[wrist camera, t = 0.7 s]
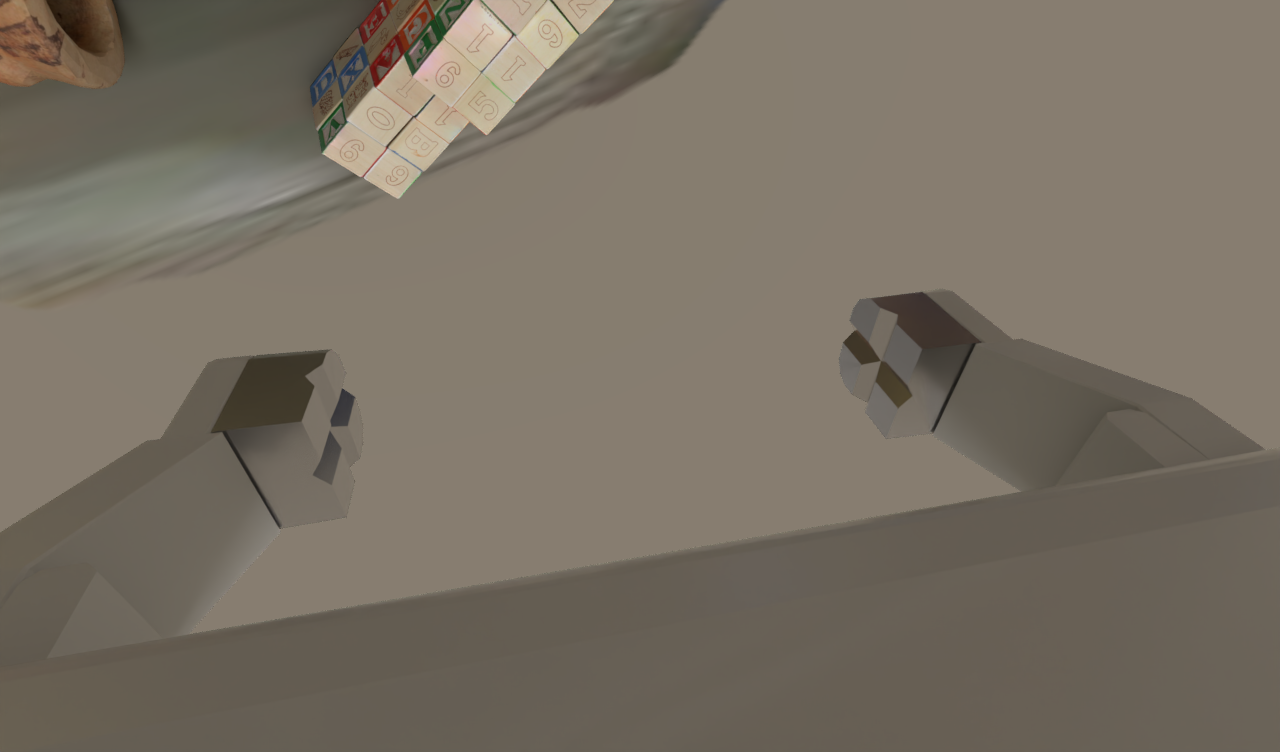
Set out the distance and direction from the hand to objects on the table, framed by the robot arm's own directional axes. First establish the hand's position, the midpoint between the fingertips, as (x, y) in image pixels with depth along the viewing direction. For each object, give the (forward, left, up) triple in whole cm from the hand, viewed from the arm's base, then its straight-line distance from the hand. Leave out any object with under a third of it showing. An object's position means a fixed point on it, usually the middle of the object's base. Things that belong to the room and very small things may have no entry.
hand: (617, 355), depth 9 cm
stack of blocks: (+11, -6, -45) cm, 47 cm away
